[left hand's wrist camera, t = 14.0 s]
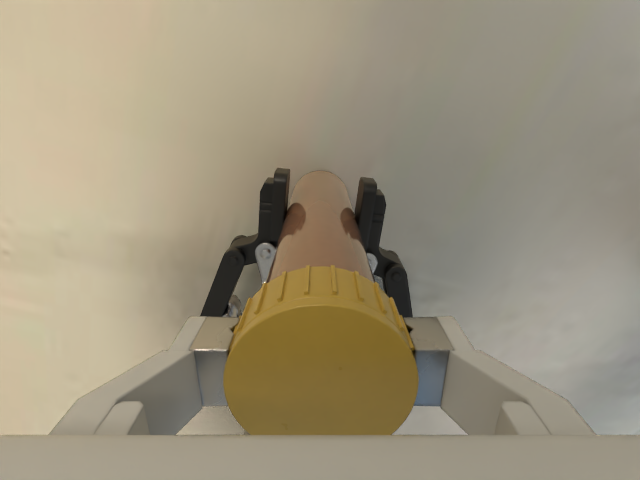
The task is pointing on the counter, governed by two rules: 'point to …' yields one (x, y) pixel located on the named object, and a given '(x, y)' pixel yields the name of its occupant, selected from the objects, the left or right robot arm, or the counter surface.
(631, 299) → the counter surface
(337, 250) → the bottle
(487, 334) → the counter surface
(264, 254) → the right robot arm
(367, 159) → the counter surface
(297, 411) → the lid
